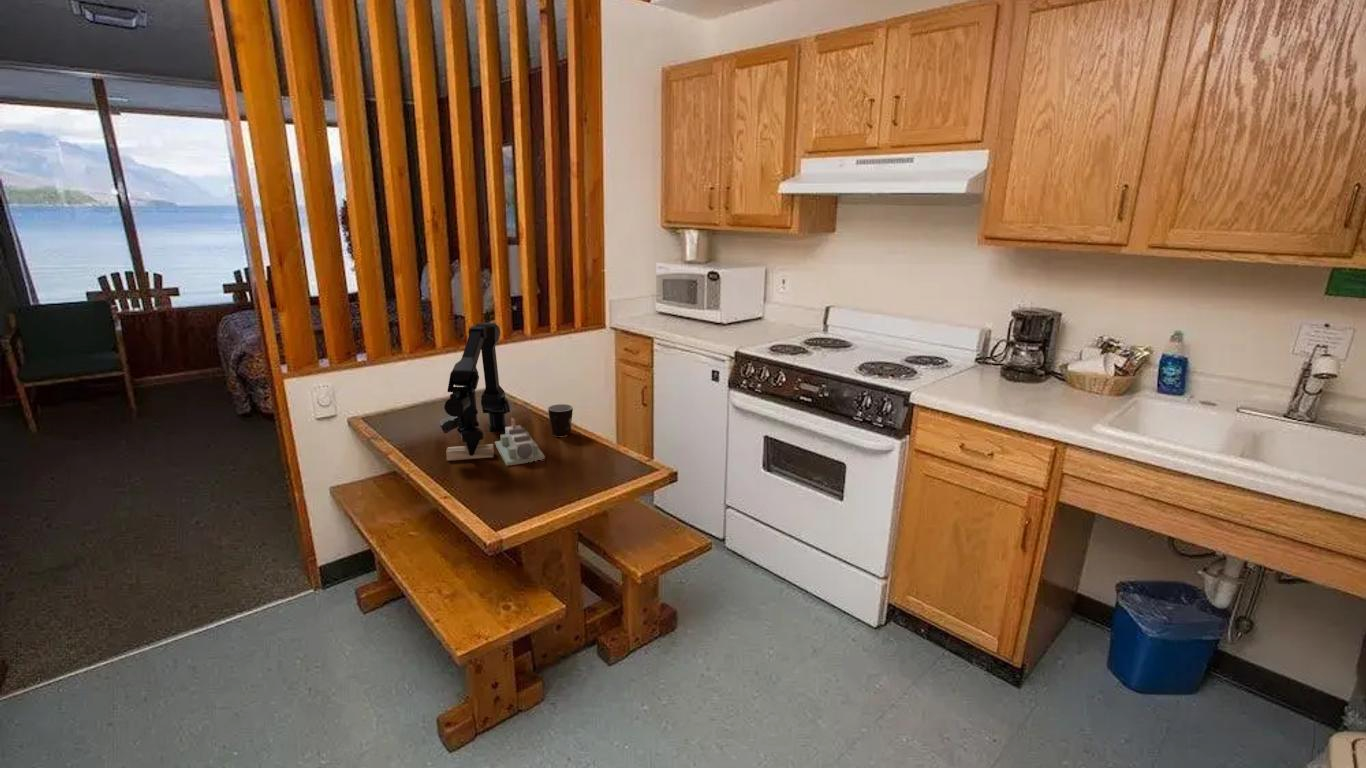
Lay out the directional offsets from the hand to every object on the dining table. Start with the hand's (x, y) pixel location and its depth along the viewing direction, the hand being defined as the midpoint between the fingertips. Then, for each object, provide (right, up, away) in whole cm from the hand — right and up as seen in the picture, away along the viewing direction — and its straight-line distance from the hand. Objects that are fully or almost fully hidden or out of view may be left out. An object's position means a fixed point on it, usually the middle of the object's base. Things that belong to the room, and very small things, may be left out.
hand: (470, 452), depth 195 cm
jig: (+14, 0, +5) cm, 15 cm away
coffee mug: (+24, +4, +21) cm, 32 cm away
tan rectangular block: (0, -1, 0) cm, 1 cm away
